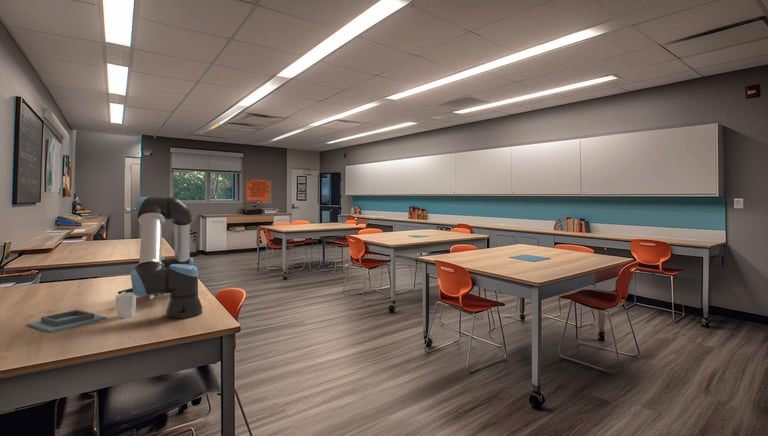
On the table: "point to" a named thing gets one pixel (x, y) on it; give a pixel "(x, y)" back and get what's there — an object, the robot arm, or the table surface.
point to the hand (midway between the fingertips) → (134, 296)
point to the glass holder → (66, 320)
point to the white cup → (125, 304)
